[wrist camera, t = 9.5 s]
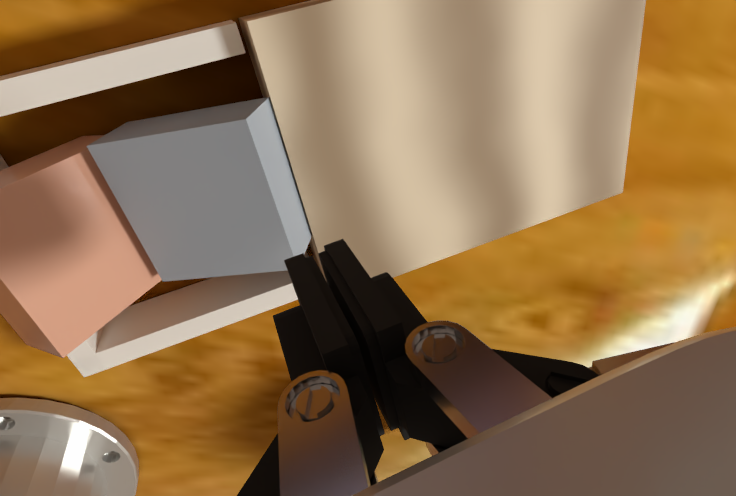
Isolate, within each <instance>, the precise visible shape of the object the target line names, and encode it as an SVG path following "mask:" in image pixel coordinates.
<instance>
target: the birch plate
mask: <svg viewBox="0 0 736 496" xmlns="http://www.w3.org/2000/svg"><path fill="white" fill-rule="evenodd" d="M645 2H646V0H310V1H306V2H302V3H297V4H293V5H289V6H285V7H281V8H277V9H273V10H269V11H265V12H261V13H257V14H253V15H248V16H244V17H240V18H238V20H239V23H240V26H241V29H242V33H243V36H244V39H245V42H246V45H247V48H248V52H249V55H250V58H251V61H252V64H253V67H254V70H255V74H256V77H257V80H258V83H259V86H260V89H261V93H262V96H263V98H266V97H270V100H271V104H272V107H273V110H274V113H275V117H276V120H277V123H278V126H279V129H280V133H281V136H282V139H283V142H284V145H285V149H286V152H287V155H288V158H289V162H290V165H291V168H292V171H293V174H294V178H295V181H296V184H297V187H298V191H299V194H300V197H301V200H302V203H303V207H304V210H305V213H306V216H307V220H308V223H309V226H310V229H311V233H312V237H311V239H310V242H309V244H310V247H311V250H312V253H313V257H314V259H315V261H316V263H317V265H318V266H319V268H320V270H321V272H322V274H323V276H324V278H325V274H324V271H323V268H322V265H321V262H320V258H319V255H318V253H320V252H323V251H325V250H324V245H327V244H330V243H332V242H335V241H338V240H341V239H344V241H345V242H346V243H347V245H348V246H349V248H350V249H351V251H352V252H353V253H354V255H355V256H356V258H357V259H358V260H359V262H360V263H361V265H362V266H363V268H364V269H365V270H366V272H367V273H368V275H369V276H370V277H371V278H372V277H374V276H377V275H380V274H382V273H385V272H387V273H389V274H390V276H391V277H392V278H393V277H396V276H398V275H401V274H404V273H406V272H409V271H412V270H415V269H417V268H420V267H423V266H425V265H428V264H431V263H433V262H436V261H439V260H442V259H444V258H447V257H450V256H452V255H455V254H458V253H460V252H463V251H466V250H469V249H471V248H474V247H477V246H479V245H482V244H485V243H487V242H490V241H493V240H496V239H498V238H501V237H504V236H506V235H509V234H512V233H514V232H517V231H520V230H523V229H525V228H528V227H531V226H533V225H536V224H539V223H541V222H544V221H547V220H549V219H552V218H555V217H558V216H560V215H563V214H566V213H568V212H571V211H574V210H576V209H579V208H582V207H585V206H587V205H590V204H593V203H595V202H598V201H601V200H603V199H606V198H609V197H612V196H614V195H617V194H620V193H622V192H623V185H624V177H625V169H626V160H627V152H628V144H629V135H630V127H631V119H632V110H633V102H634V94H635V85H636V77H637V69H638V61H639V52H640V44H641V36H642V27H643V19H644V11H645ZM325 280H326V278H325ZM326 282H327V281H326Z"/></svg>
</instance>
